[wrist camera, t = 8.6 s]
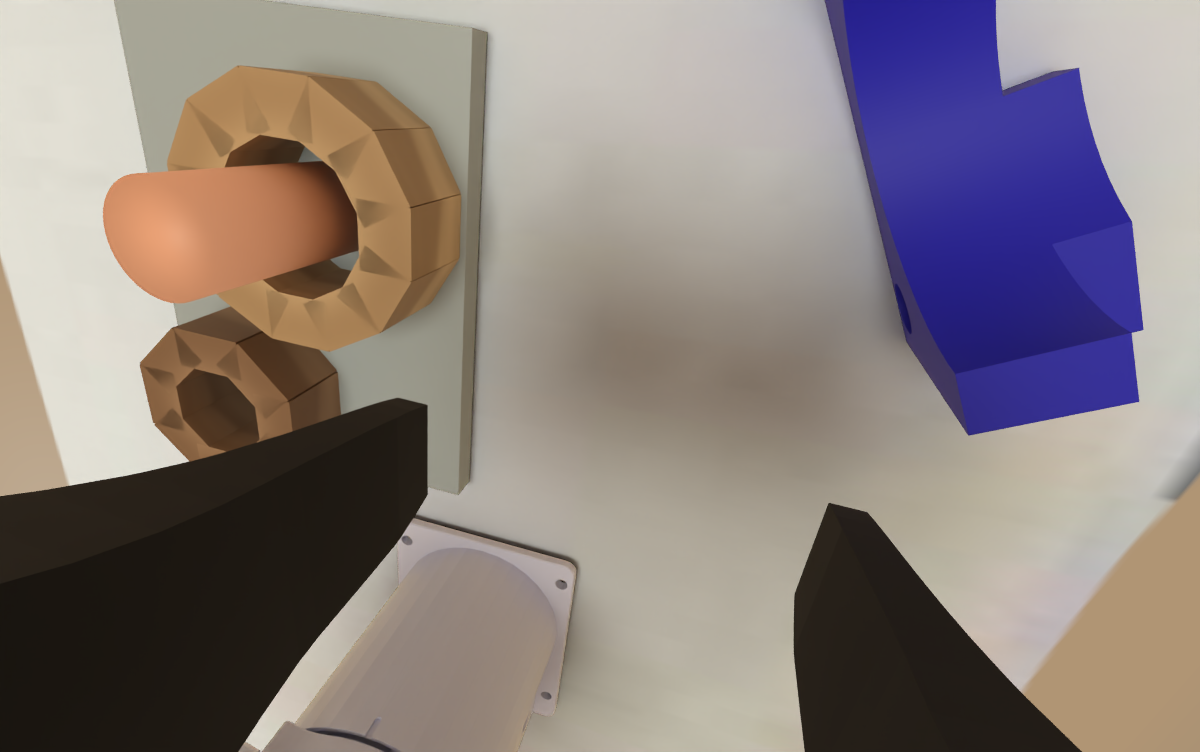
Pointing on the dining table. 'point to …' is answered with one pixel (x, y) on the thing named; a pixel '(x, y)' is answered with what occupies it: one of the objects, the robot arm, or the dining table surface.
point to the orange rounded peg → (226, 226)
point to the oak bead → (370, 178)
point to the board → (336, 47)
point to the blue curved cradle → (990, 215)
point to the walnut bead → (234, 385)
